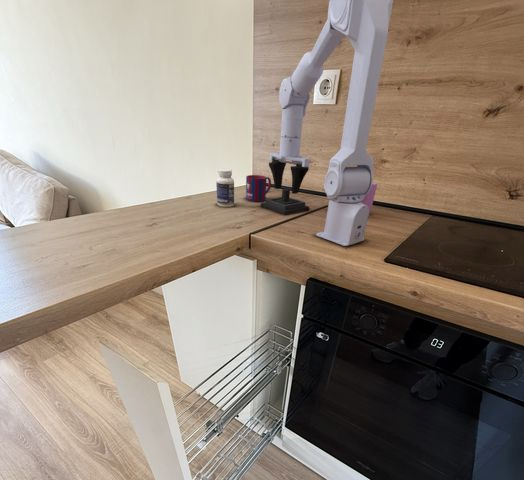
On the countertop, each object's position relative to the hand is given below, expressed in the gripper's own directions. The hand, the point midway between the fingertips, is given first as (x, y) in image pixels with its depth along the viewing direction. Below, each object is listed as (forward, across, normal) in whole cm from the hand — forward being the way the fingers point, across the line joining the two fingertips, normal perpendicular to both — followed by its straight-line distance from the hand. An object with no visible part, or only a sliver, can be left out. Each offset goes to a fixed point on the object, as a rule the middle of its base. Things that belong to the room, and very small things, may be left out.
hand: (286, 190), depth 94 cm
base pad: (+5, 0, 0) cm, 5 cm away
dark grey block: (+4, 0, 0) cm, 4 cm away
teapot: (+5, +13, +14) cm, 20 cm away
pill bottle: (+5, -13, -14) cm, 20 cm away
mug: (+5, -14, +1) cm, 15 cm away
